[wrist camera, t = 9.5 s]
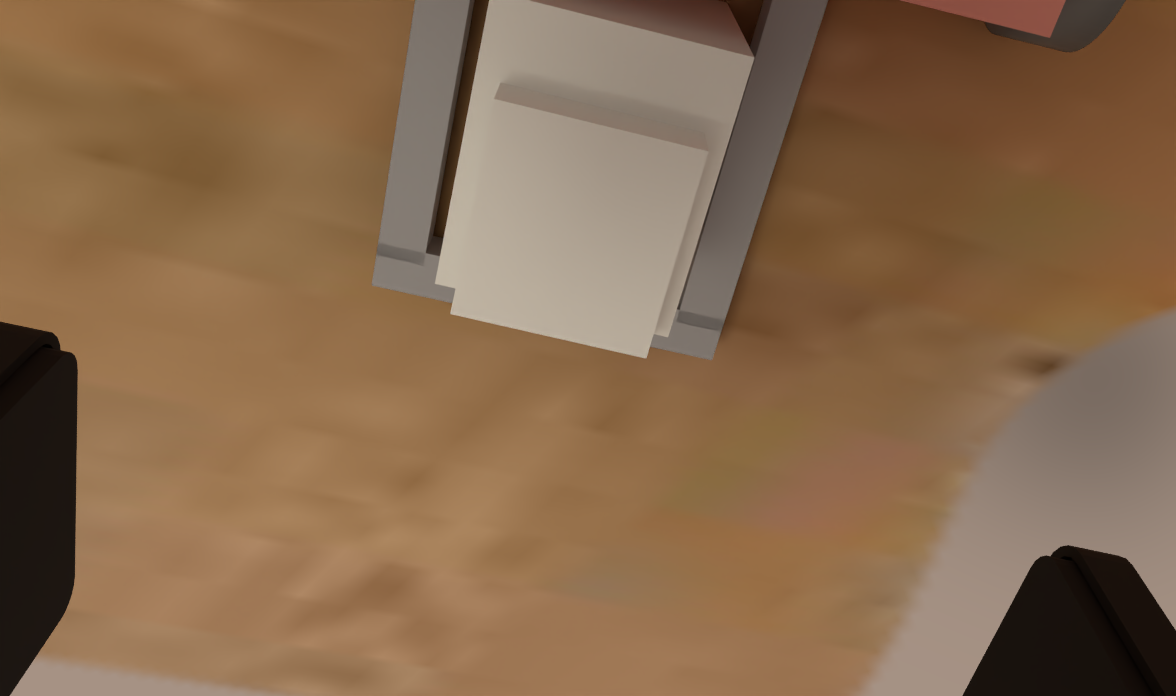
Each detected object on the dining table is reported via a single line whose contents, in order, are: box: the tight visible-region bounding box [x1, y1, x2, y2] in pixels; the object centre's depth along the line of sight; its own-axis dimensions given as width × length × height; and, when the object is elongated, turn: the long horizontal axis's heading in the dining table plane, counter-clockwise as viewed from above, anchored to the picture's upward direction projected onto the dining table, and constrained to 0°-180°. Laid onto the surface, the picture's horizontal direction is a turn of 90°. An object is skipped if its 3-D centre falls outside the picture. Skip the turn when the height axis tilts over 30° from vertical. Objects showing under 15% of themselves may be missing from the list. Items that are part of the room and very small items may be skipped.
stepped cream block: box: [435, 0, 755, 358], centre depth 23 cm, size 6×5×7 cm
